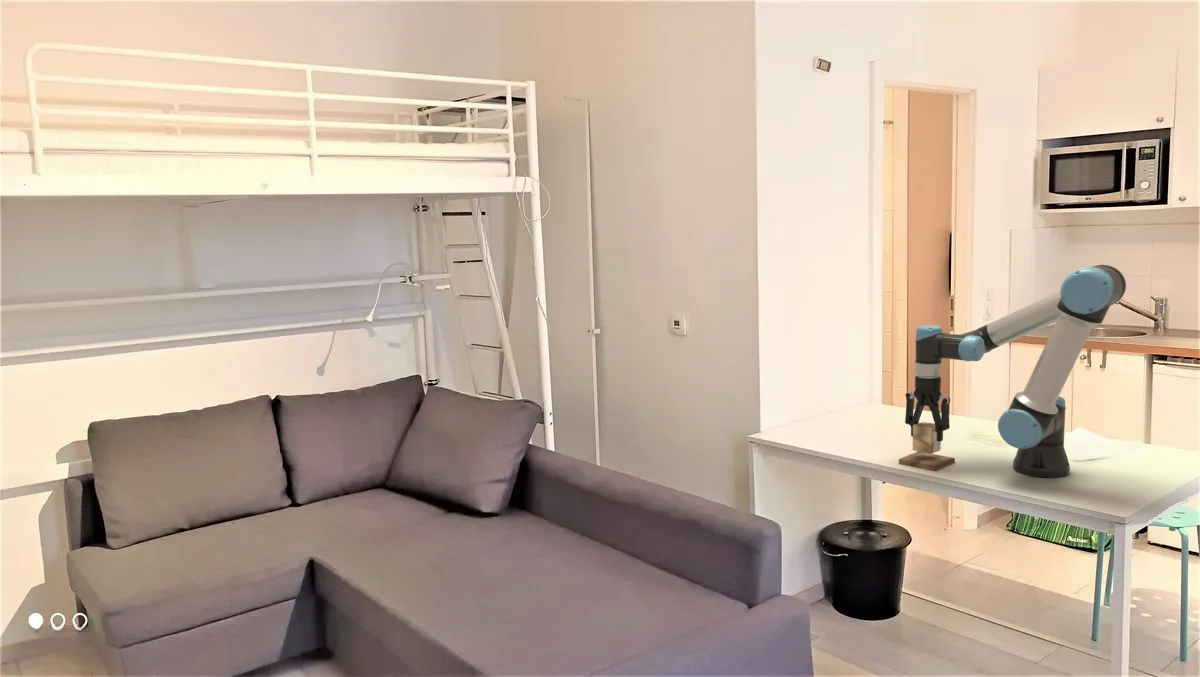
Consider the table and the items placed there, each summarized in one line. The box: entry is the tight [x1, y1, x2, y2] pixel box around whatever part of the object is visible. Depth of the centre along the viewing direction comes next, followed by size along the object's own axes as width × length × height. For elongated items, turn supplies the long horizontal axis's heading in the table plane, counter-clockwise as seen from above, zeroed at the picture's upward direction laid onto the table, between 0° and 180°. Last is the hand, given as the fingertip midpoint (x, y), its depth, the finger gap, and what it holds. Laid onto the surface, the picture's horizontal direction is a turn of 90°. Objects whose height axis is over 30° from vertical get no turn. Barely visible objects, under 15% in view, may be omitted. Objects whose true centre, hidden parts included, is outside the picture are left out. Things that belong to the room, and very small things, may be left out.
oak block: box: [912, 421, 942, 454], centre depth 273 cm, size 6×6×8 cm
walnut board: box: [898, 451, 956, 472], centre depth 273 cm, size 12×12×2 cm
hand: (926, 449), depth 273 cm, fingers closed on oak block, 6 cm apart
